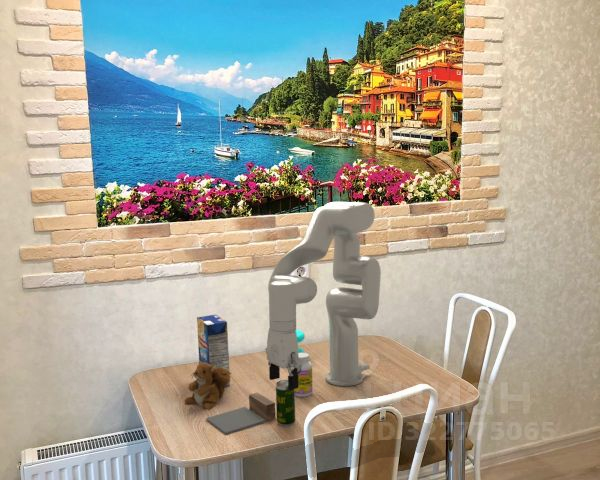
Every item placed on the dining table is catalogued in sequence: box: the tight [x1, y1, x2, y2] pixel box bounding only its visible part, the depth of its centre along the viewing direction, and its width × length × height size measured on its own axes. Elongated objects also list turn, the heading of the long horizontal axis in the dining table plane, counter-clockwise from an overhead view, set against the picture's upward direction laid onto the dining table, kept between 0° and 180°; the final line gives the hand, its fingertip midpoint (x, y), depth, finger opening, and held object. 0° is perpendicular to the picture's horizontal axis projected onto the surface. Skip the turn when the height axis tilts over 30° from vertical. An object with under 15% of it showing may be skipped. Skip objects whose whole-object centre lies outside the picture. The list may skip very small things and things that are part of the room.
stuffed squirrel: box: [183, 360, 232, 410], centre depth 200 cm, size 10×14×13 cm
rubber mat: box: [205, 406, 267, 435], centre depth 186 cm, size 13×12×1 cm
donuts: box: [296, 329, 306, 353], centre depth 238 cm, size 10×10×10 cm
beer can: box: [275, 379, 296, 428], centre depth 183 cm, size 5×5×12 cm
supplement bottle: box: [291, 352, 313, 398], centre depth 204 cm, size 7×7×13 cm
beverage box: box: [196, 314, 231, 388], centre depth 215 cm, size 7×11×22 cm, turn 27°
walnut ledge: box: [248, 392, 276, 421], centre depth 191 cm, size 3×10×4 cm, turn 35°
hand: (283, 383), depth 181 cm, fingers open, 9 cm apart
